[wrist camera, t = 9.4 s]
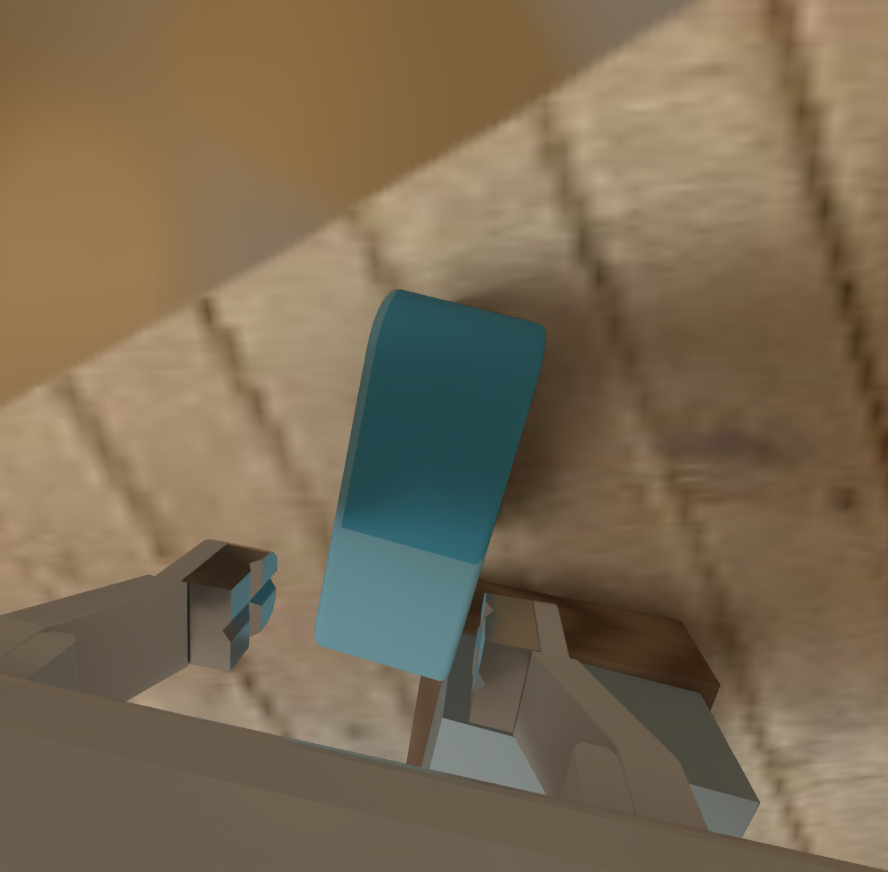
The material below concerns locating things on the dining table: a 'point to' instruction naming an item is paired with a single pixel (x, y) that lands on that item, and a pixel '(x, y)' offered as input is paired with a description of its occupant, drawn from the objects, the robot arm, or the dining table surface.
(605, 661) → the walnut base block
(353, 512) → the data package
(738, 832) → the slate top block
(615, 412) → the dining table surface
